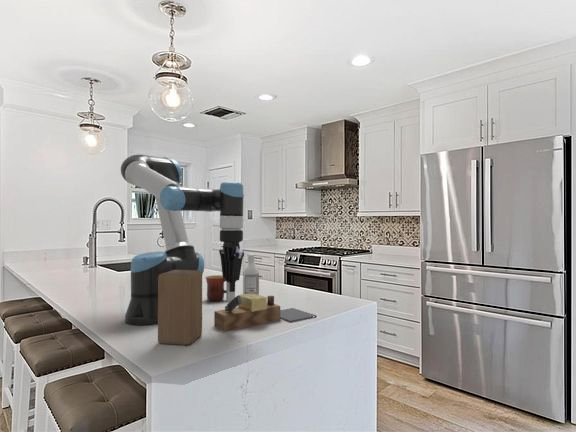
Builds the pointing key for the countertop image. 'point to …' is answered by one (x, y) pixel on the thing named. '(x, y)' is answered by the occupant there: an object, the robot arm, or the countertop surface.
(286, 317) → the mat
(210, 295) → the mug
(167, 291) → the block
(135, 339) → the countertop surface
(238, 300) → the lever
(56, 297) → the countertop surface
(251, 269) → the bath foam
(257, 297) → the pale yellow block
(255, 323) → the plane body
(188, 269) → the robot arm
